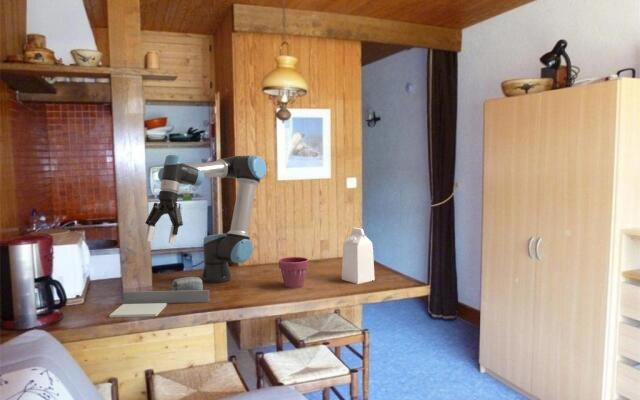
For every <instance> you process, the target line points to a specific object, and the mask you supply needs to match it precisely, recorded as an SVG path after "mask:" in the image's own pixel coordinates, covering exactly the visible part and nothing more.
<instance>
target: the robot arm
mask: <svg viewBox="0 0 640 400" xmlns="http://www.w3.org/2000/svg"><path fill="white" fill-rule="evenodd" d="M184 160H185V159H184V158H183V157H182V156H180V155H176V154H168V155H167V156H166V157H165V160H164V163H163V166H162V167H161V168H160V169H159V170H158V173H157V178H158V180H159V181H160V188H159V190H160V191H159V193H158V200H159V203H158V202H154V203H153V205H152V209H151V210H150V212H149V214H148V217H147V218H146V220H145V225H147V226H148V227H147V237H146V242H149V243H153V242H154V238H155V232H156V224H157V223H158V222H159V220H160V219H161V217H162V216H163V215H168V217H169V220H170V222H171V226H170V231H169V237H168V238H169V239H168V243H170V244H176V241H177V235H178V231H179V228H180V227H182V226H183V225H184V223H183V218H182V212H181V203H179V202H178V197H179V194H178V193H179V192H180V186H181V185H191V186H194V187H199V186H201V185H202V184H203V183H204V181H205V179H210V178H220V179H224V178H228V179H229V178H230V179H231V178H232V179H236V182H238V186H237V193H236V197H235V204H234V207H233V208H234V209H233V214H232V219H231V224H230V230H229V231H228V232H226V233H218V234H217V233H215V234H209V235H207V236H204V238H203V245H202V247H203V260H204V261H203V268H202V272H201V276H200V279H201V280H202V283H208V284H209V283H210V284H215V283H216V284H217V283H224V282H228V281H231V280H232V272H231V269H230V267H229V264H228V262H230V263H231V262H232V263H234V264H235V263H236V264H237V263H240V264H242V263H245V262H247V261H248V260H250V258H251V256H252V254H253V251H254V246H253V243H252V241H251V240H250V238H251V236H250V235H249V234H248V232H249V226H250V221H251V215H252V211H253V205H254V197H255V192H256V188H257V186H259V185H260V182H261V180H262V179H264V178H265V177H266V175H267V164H266V161H265V160H264V158H262V157H261V156H259V155H253V154H252V155H251V154H250V155H234V156H229V157H225V158H219V159H217V160H215V161H210V162H201V163H195V164H194V163H192V164H185V161H184Z"/></svg>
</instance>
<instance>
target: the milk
mask: <svg viewBox="0 0 640 400" xmlns="http://www.w3.org/2000/svg"><path fill="white" fill-rule="evenodd" d="M374 264H375V262H374V245H373V241H371V239H370V238H368V237H367V236H366V234H365V232H364V229H363V228H359V227H352V230H351V233H350V234H349V236H348V237H346V239H345V240H344V242H343V244H342V265H341V280H344V281H347V282H349V283H353V284H357V285H359V284H364V283H368V282H372V280H373V281H375V265H374Z"/></svg>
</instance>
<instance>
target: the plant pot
mask: <svg viewBox="0 0 640 400" xmlns="http://www.w3.org/2000/svg"><path fill="white" fill-rule="evenodd" d="M278 268H279V270H280V273H281V276H282V277H281V278H282V280H283V285H284V286H285V288H290V289H298V288H302V287H303V286H304V284H305V281H306V280H305V278H306V274H307V269H308V268H309V259H308V258H307V257H300V256H289V257H282V258H280V259H278Z"/></svg>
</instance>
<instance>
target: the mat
mask: <svg viewBox="0 0 640 400" xmlns="http://www.w3.org/2000/svg"><path fill="white" fill-rule="evenodd" d="M167 304H168V303H143V304H124V303H122V304H121V305H120V306H119V307H118V308H117V309H115V310H114V311H113V312H111V313H109V318H145V317H147V318H149V317H150V318H151V317H157V316H158V315H159V314H160V313H161V312H162V311H163V310H164V309H165V308H166V307H167Z"/></svg>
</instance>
